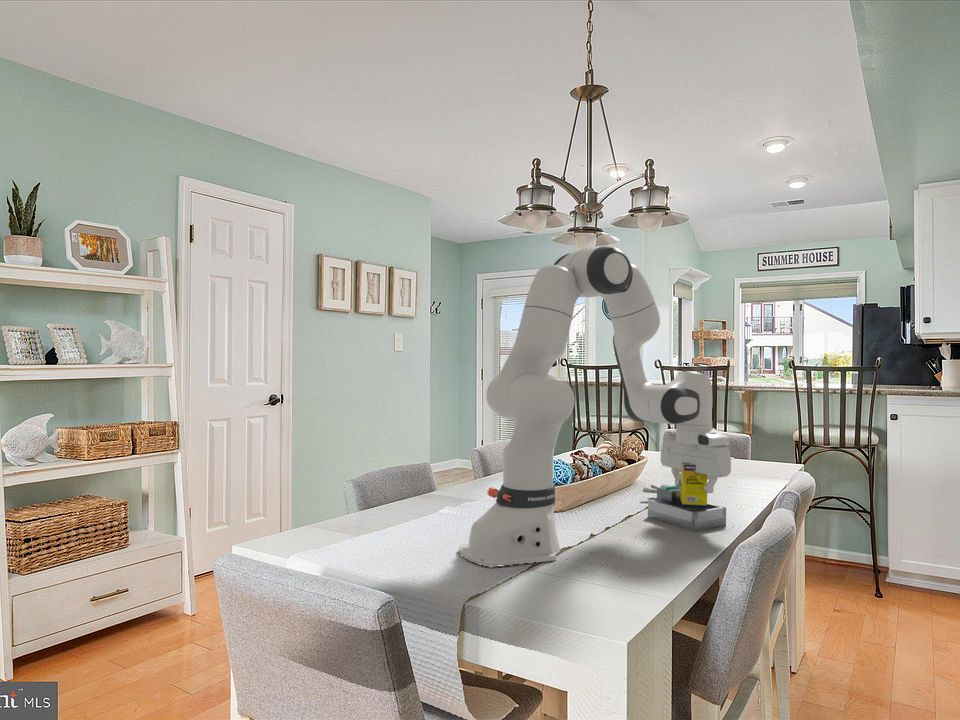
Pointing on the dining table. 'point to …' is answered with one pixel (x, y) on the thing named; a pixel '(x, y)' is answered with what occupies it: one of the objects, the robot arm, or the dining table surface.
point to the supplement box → (692, 487)
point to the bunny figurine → (655, 488)
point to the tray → (684, 511)
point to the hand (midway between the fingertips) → (693, 489)
